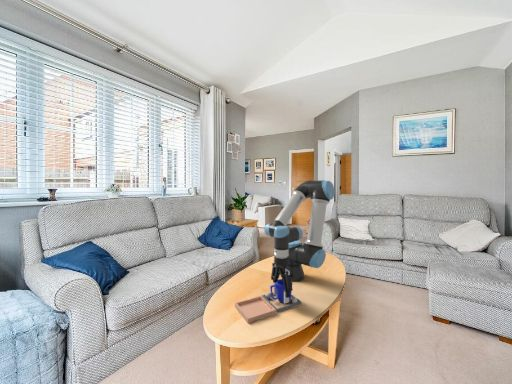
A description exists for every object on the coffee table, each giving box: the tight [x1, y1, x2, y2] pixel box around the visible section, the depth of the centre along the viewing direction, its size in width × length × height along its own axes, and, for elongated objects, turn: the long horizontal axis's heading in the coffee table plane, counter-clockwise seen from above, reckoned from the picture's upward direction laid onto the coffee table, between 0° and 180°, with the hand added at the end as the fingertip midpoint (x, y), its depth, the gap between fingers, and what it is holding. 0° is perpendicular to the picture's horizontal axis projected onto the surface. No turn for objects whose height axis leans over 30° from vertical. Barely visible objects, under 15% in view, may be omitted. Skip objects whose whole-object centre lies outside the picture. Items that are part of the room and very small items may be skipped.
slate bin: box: [261, 291, 302, 313], centre depth 121 cm, size 15×15×1 cm
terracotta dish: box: [234, 295, 277, 324], centre depth 112 cm, size 15×15×2 cm
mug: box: [269, 278, 293, 304], centre depth 121 cm, size 8×12×10 cm
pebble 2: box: [291, 297, 298, 304], centre depth 118 cm, size 3×3×3 cm
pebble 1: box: [264, 292, 272, 300], centre depth 123 cm, size 3×3×3 cm
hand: (281, 298), depth 121 cm, fingers open, 9 cm apart
